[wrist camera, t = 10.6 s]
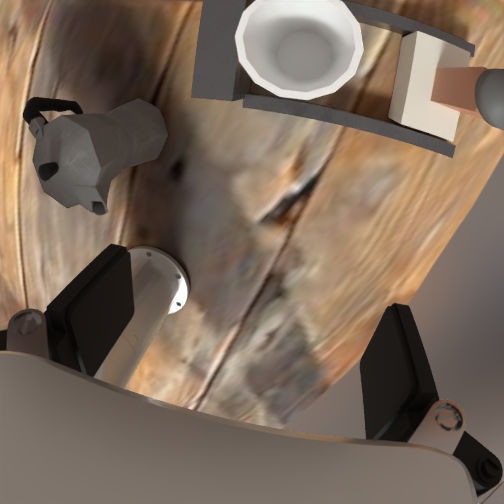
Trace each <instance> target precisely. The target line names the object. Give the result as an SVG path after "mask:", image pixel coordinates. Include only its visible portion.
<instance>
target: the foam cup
mask: <svg viewBox="0 0 504 504" xmlns="http://www.w3.org/2000/svg"><path fill="white" fill-rule="evenodd" d="M235 40H236V46H237V52H238V58H239V62H240V63H241V65H242V66H243V67H244V69H245V70H246V71H247V73H248V74H249V75H250V77H251V78H252V80H253V81H254V82H255V83H256V84H258V85H260V86H261V87H263V88H265V89H267V90H269V91H270V92H272V93H274V94H275V95H277V96H279V97H287V98H295V99H303V100H310V99H313V98H317V97H320V96H324V95H327V94H331V93H334V92H336V91H337V90H338V89H339V88H340V87H341V86H342V85H344V84H345V83H346V82H347V81H348V80H349V79H350V78H351V77H353V76H354V75H355V73H356V70H357V67H358V65H359V62H360V59H361V56H362V54H363V51H364V49H363V42H362V36H361V30H360V24H359V23H358V21H357V20H356V19H355V17H354V16H353V14H352V13H351V12H350V10H349V9H348V8H347V6H346V5H345V4H344V2H342V1H340V0H255V1H254V2H253V3H252V4H251V5H250V6H249V7H248V8H247V9H246V10H245V11H244V12H243V14H242V16H241V19H240V22H239V25H238V28H237V31H236V34H235Z"/></svg>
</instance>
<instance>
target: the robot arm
mask: <svg viewBox="0 0 504 504" xmlns="http://www.w3.org/2000/svg"><path fill="white" fill-rule="evenodd" d="M189 293H190V286H189V281H188V278H187V276H186V273H185V272H184V270H183V268H182V267H181V266H180V265H179V263H178V262H177V261H176V260H175V259H174V258H172V257H171V256H170V255H168V254H167V253H165V252H164V251H162V250H159V249H157V248H154V247H150V246H137V247H134V248H131V249H130V250H128V251H127V249H126V247H124V246H119V245H115V244H110V245H109V246H108V247H107V248H106V249H104V250H103V251H102V252H101V253H100V254H99V255H98V256H97V257H96V258H95V259H94V260H93V261H92V262H91V263H90V264H89V265H88V266H87V267H86V268H85V269H84V270H82V271H81V272H80V273H79V274H78V275H77V276H76V277H75V278H74V279H73V280H72V281H71V282H70V283H69V284H68V285H67V286H66V287H65V288H64V289H63V290H62V291H61V292H60V294H59V295H58V296H57V297H56V298H55V299H54V300H53V301H52V302H51V303H50V304H49V305H48V306H47V310H46V311H45V312H44V313H42V312H41V311H39V310H37V309H24V310H21V311H19V312H17V313H16V314H14V315H13V316H12V317H11V319H10V320H9V321H5V322H2V323H0V504H504V482H502V480H501V478H502V471H503V469H502V465H501V463H500V461H499V459H498V458H497V457H496V456H495V455H494V454H493V453H492V452H490V451H489V450H488V449H487V448H485V447H484V446H483V445H482V444H480V443H479V442H478V441H477V440H476V439H474V438H473V437H472V436H470V435H469V434H468V433H467V432H466V431H465V428H466V424H467V421H466V416H465V413H464V411H463V410H462V408H461V407H460V406H458V405H457V404H456V403H454V402H453V401H450V400H446V399H444V400H439V397H438V393H437V389H436V386H435V382H434V379H433V375H432V372H431V369H430V365H429V363H428V359H427V356H426V353H425V350H424V347H423V344H422V341H421V338H420V335H419V332H418V329H417V326H416V323H415V321H414V318H413V315H412V312H411V310H410V307H409V306H408V305H402V304H397V303H394V304H392V306H388V307H387V308H386V310H385V312H384V314H383V316H382V318H381V320H380V322H379V324H378V326H377V328H376V330H375V332H374V334H373V336H372V338H371V340H370V342H369V344H368V346H367V348H366V350H365V352H364V354H363V356H362V358H361V361H360V373H361V382H362V393H363V404H364V415H365V416H364V417H365V430H366V439H357V438H346V437H336V436H327V435H318V434H310V433H303V432H296V431H289V430H283V429H277V428H271V427H266V426H260V425H255V424H250V423H245V422H240V421H236V420H231V419H227V418H222V417H218V416H214V415H210V414H206V413H202V412H198V411H194V410H190V409H187V408H183V407H180V406H176V405H173V404H169V403H166V402H163V401H159V400H156V399H153V398H150V397H147V396H144V395H141V394H138V393H135V392H132V391H129V390H126V387H127V385H128V383H129V381H130V379H131V377H132V376H133V374H134V372H135V370H136V368H137V367H138V365H139V363H140V361H141V360H142V358H143V356H144V354H145V352H146V351H147V349H148V347H149V345H150V344H151V342H152V340H153V339H154V337H155V335H156V333H157V332H158V331H160V329H161V327H160V326H161V325H162V323H163V321H164V320H165V318H166V316H167V314H170V313H174V312H177V311H178V310H180V309H181V308H182V307H183V306H184V305H185V303H186V301H187V299H188V297H189Z"/></svg>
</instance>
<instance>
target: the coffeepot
mask: <svg viewBox="0 0 504 504" xmlns="http://www.w3.org/2000/svg"><path fill="white" fill-rule="evenodd" d="M51 110H53V111H58V112H62V111H67V110H71V111H73V112H74V113H75V115H61V116H59V117H57V118H56V119H54V120H53V121H51V122H49V123H48V121H47V120H46V119H45V117H44V116H43V115H42V114H41V113H40V112H39V111H51ZM23 118H24V120H25V121H26V122H27V123H28V124H29V130H30V131H31V133H32V134H33V136H34V137H35V138H36V139H37V140H36V145H35V150H34V155H33V163H34V166H35V169H36V172H37V175H38V177H39V180H40V183H41V185H42V188H43V191H44V192H45V193H46V194H48V195H49V196H51V197H52V198H53V199H55V200H56V201H58V202H59V203H60V204H62V205H63V206H65V207H66V208H70V207H73V206H75V205H78V204H80V205H82V206H83V207H84V208H86V209H87V210H89V211H90V212H92V213H95V214H96V215H104V214H106V213H107V212H108V209H107V197H108V192H109V187H110V183H111V181H112V180H113V179H114V178H115V177H116V176H117V175H118V174H119V173H120V172H121V169H124V168H128V167H132V166H136V165H139V164H142V163H145V162H148V161H152V160H155V159H158V156H159V154H160V152H161V150H162V149H163V147H164V144H165V142H166V139H167V137H168V132H167V128H166V123H165V120H164V118H163V116H162V114H161V110H160V109H158V108H157V107H155V106H153V105H152V104H150V103H148V102H145V101H143V100H141V99H139V98H138V99H135V100H133V101H130V102H128V103H126V104H124V105H121V106H119V107H117V108H115V109H113V110H111V111H110V112H108V113H106V114H104V115H103V114H83V111H82V109H81V107H80V106H79V104H78V103H77V102H75V101H68V100H61V99H50V98H41V97H33V98H31V99H30V100H29V101H28V102H27V104H26V107H25V109H24V112H23Z"/></svg>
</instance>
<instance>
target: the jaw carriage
mask: <svg viewBox="0 0 504 504" xmlns="http://www.w3.org/2000/svg"><path fill="white" fill-rule="evenodd" d="M469 59H470V52H468V51H466V50H464V49H462V48H459V47H457V46H455V45H453V44H450V43H448V42H445V41H443V40H441V39H438V38H436V37H433V36H430V35H428V34H425V33H422V32H420V31H416V32H414V33H412V34H409V35H407V36H405V37H403V38H402V42H401V48H400V55H399V61H398V67H397V73H396V78H395V84H394V89H393V94H392V99H391V104H390V109H389V114H388V118H390V119H392V120H394V121H396V122H398V123H400V124H402V125H406V126H409V127H412V128H415V129H418V130H421V131H424V132H427V133H430V134H433V135H436V136H439V137H441V138H444V139H447V140H450V141H452V142H453V139H454V135H455V131H456V127H457V123H458V118H459V114H460V112H461V113H464V114H468V115H471V116H474V117H477V118H480V119H484V120H485V121H486V122H487V123H488V124H490V125H491V126H493V127H496V128H499V129H501V130H504V69H487V68H485V67H468V66H469Z"/></svg>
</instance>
